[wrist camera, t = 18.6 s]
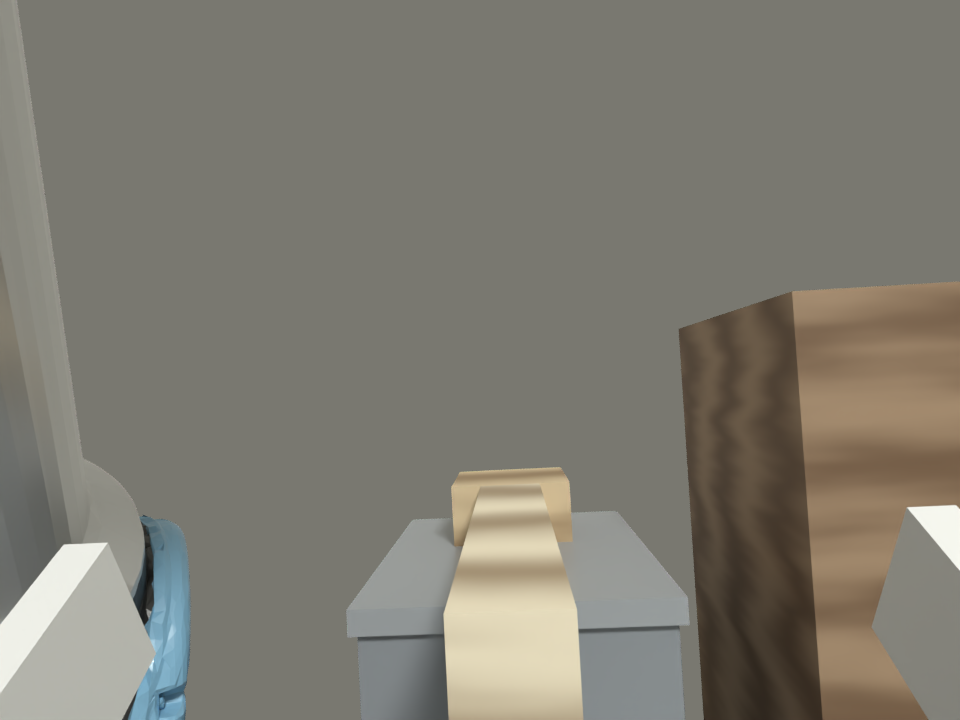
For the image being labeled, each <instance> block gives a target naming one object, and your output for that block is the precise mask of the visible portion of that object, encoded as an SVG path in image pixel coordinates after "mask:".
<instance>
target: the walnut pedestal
mask: <svg viewBox="0 0 960 720" xmlns="http://www.w3.org/2000/svg"><path fill="white" fill-rule="evenodd" d="M679 340H680V355H681V372H682V386H683V402H684V417H685V432H686V433H685V434H686V449H687V464H688V480H689V495H690V511H691V526H692V541H693V557H694V572H695V588H696V603H697V619H698V635H699V647H700V649H699V650H700V665H701V681H702V696H703V711H704V720H928V718H927V716H926V715H925V713H924V712H923V710H922V708H921V707H920V705H919V703H918V702H917V700H916V699H915V697H914V695H913V694H912V692H911V690H910V689H909V687H908V686H907V684H906V682H905V681H904V679H903V677H902V676H901V674H900V673H899V671H898V669H897V668H896V666H895V665H894V663H893V661H892V660H891V658H890V656H889V655H888V653H887V652H886V650H885V648H884V647H883V645H882V643H881V642H880V640H879V639H878V637H877V635H876V634H875V632H874V630H873V629H872V624H873V620H874V617H875V614H876V610H877V607H878V603H879V600H880V597H881V593H882V590H883V586H884V583H885V580H886V576H887V573H888V569H889V566H890V563H891V559H892V556H893V552H894V549H895V546H896V542H897V539H898V535H899V532H900V529H901V525H902V522H903V518H904V515H905V512H906V508H907V507H924V506H947V505H956V506H957V507H958V508H959V509H960V282H946V283H929V284H914V285H913V284H911V285H894V286H877V287H861V288H842V289H825V290H809V291H792V292H789V293H786V294H783V295H780V296H777V297H774V298H771V299H768V300H765V301H762V302H759V303H756V304H753V305H750V306H747V307H744V308H741V309H738V310H734V311H731V312H728V313H726V314H722V315H719V316H716V317H713V318H710V319H707V320H704V321H701V322H698V323H695V324H692V325H689V326H686V327H683V328H680V329H679Z"/></svg>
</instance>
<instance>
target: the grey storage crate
mask: <svg viewBox="0 0 960 720" xmlns="http://www.w3.org/2000/svg"><path fill="white" fill-rule="evenodd" d="M571 520H572V537H573V542H557V543H558V547H559V550H560V554H561V557H562V560H563V564H564V567H565V570H566V574H567V577H568V581H569V584H570V587H571V591H572V594H573V597H574V601H575V604H576V608H577V618H578V635H579V652H580V670H581V687H582V704H583V720H685V708H684V693H683V677H682V660H681V645H680V629H679V625H689V610H688V597H687V596H686V595H685V593H684V592H683V591H682V590H681V589H680V588H679V586H678V585H677V584H676V582H675V581H674V580H673V579H672V578H671V576H670V575H669V574H668V573H667V572H666V570H665V569H664V568H663V567H662V565H661V564H660V563H659V562H658V561H657V559H656V558H655V557H654V556H653V555H652V553H651V552H650V551H649V550H648V549H647V547H646V546H645V545H644V544H643V542H642V541H641V540H640V539H639V538H638V536H637V535H636V534H635V533H634V531H633V530H632V529H631V528H630V527H629V525H628V524H627V523H626V522H625V520H624V519H623V518H622V517H621V516H620V514H619V513H618V512H617V511H605V512H604V511H603V512H581V513H571ZM462 549H463V546H457V547H454V528H453V518H445V519H423V520H422V519H421V520H412V521H411V523H410V524H409V525H408V527H407V528H406V530H405V531H404V533H403V534H402V535H401V537H400V538H399V539H398V541H397V542H396V543H395V545H394V546H393V548H392V549H391V550H390V552H389V553H388V554H387V556H386V557H385V558H384V560H383V561H382V562H381V564H380V565H379V566H378V568H377V569H376V570H375V572H374V573H373V575H372V576H371V577H370V579H369V580H368V582H367V583H366V584H365V585H364V587H363V588H362V590H361V591H360V592H359V594H358V595H357V597H356V598H355V599H354V601H353V602H352V603H351V605H350V606H349V607H348V609H347V632H348V633H347V634H348V637H358V657H359V679H360V699H361V700H360V701H361V720H449V715H448V695H447V675H446V655H445V635H444V615H443V614H444V611H445V607H446V604H447V600H448V597H449V594H450V590H451V587H452V583H453V580H454V576H455V573H456V569H457V566H458V563H459V559H460V556H461V552H462Z"/></svg>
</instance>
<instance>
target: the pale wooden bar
mask: <svg viewBox="0 0 960 720" xmlns="http://www.w3.org/2000/svg"><path fill="white" fill-rule="evenodd" d="M451 488H452V508H453V528H454V547H457V546H463V549H462V552H461V556H460V559H459V563H458V566H457V569H456V573H455V576H454V580H453V583H452V587H451V590H450V594H449V597H448V600H447V604H446V607H445V611H444V614H443V615H444V635H445V655H446V675H447V695H448V715H449V720H583V704H582V687H581V670H580V652H579V635H578V618H577V608H576V604H575V601H574V597H573V594H572V591H571V587H570V584H569V581H568V577H567V574H566V570H565V567H564V564H563V560H562V557H561V554H560V550H559V547H558V543H557V542H573V537H572V520H571V502H570V486H569V481H568V479H567V477H566V476H565V474H564V472H563V471H562V469H561V467H555V468H534V469H512V470H492V471H470V472H460V473H459V475H458V477H457V479H456V480H455V482H454V484H453V486H452V487H451Z"/></svg>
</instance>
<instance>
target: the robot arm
mask: <svg viewBox="0 0 960 720" xmlns="http://www.w3.org/2000/svg"><path fill="white" fill-rule="evenodd" d="M190 615H191V612H190V575H189V564H188V552H187V546H186V541H185V537H184V534H183V532H182V530H181V529H180V527H178V525H176V524H174V523H173V522H171V521H168V520H163V519H155V520H154V519H152V518H150V517H147V516H144V515H143V516H142V517H139V515H138V512H137V509H136V507H135V504H134V501H133V500H132V498H131V497H130V496H129V494H128V493H127V491H126V490H125V489H124V487H123V486H122V485H121V484H120V483H119V482H118V481H117V480H115V479H114V478H113V477H112V476H111V475H110V474H108V473H107V472H105V471H104V470H103V469H101V468H100V467H98V466H97V465H95V464H93V463H91V462H89V461H87V460H85V459H83V457H82V449H81V442H80V436H79V429H78V422H77V415H76V408H75V401H74V394H73V388H72V380H71V373H70V367H69V359H68V352H67V345H66V339H65V332H64V325H63V318H62V311H61V304H60V297H59V291H58V283H57V277H56V269H55V262H54V255H53V249H52V242H51V235H50V228H49V221H48V214H47V207H46V200H45V193H44V187H43V180H42V172H41V165H40V158H39V151H38V144H37V138H36V131H35V124H34V117H33V111H32V103H31V96H30V89H29V83H28V76H27V69H26V61H25V55H24V48H23V41H22V34H21V27H20V20H19V13H18V6H17V0H0V720H185V712H186V703H185V694H184V689H185V686H186V683H187V673H188V666H189V656H190ZM872 629H873V630H874V632H875V634H876V635H877V637H878V639H879V640H880V642H881V643H882V645H883V647H884V648H885V650H886V652H887V653H888V655H889V656H890V658H891V660H892V661H893V663H894V665H895V666H896V668H897V669H898V671H899V673H900V674H901V676H902V677H903V679H904V681H905V682H906V684H907V686H908V687H909V689H910V690H911V692H912V694H913V695H914V697H915V699H916V700H917V702H918V703H919V705H920V707H921V708H922V710H923V712H924V713H925V715H926V716H927V718H928V720H960V509H959V508H958V507H957V506H956V505H947V506H924V507H907V508H906V512H905V515H904V518H903V522H902V525H901V529H900V532H899V535H898V539H897V542H896V546H895V549H894V552H893V556H892V559H891V563H890V566H889V569H888V573H887V576H886V580H885V583H884V586H883V590H882V593H881V597H880V600H879V603H878V607H877V610H876V614H875V617H874V620H873V624H872Z"/></svg>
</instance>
